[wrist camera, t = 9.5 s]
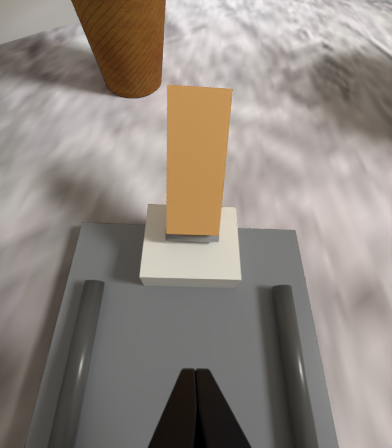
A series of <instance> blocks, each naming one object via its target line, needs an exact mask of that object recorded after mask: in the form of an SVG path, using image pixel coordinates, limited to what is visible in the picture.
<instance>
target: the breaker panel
mask: <svg viewBox="0 0 392 448" xmlns="http://www.w3.org/2000/svg"><path fill="white" fill-rule="evenodd" d="M166 211H167V205H157V204H148V210H147V218H146V225H141V224H114V223H86V222H82V226H81V230H80V233H79V237H78V241H77V245H76V249H75V253H74V257H73V260H72V264H71V268H70V272H69V276H68V280H67V284H66V288H65V291H64V295H63V299H62V303H61V307H60V311H59V315H58V318H57V322H56V326H55V330H54V334H53V338H52V342H51V345H50V349H49V353H48V357H47V361H46V365H45V369H44V372H43V376H42V380H41V384H40V388H39V392H38V396H37V399H36V403H35V407H34V411H33V415H32V419H31V423H30V426H29V430H28V434H27V438H26V442H25V446H24V448H147V447H148V445H149V443H150V440H151V438H152V436H153V433H154V431H155V429H156V426H157V424H158V422H159V420H160V417H161V415H162V413H163V410H164V408H165V406H166V403H167V401H168V399H169V397H170V394H171V392H172V390H173V387H174V385H175V383H176V380H177V378H178V376H179V373H180V371H181V370H182V369H183V368H194V369H195V371H196V369H197V368H208V369H209V370H210V371H211V373H212V375H213V377H214V378H215V380H216V382H217V384H218V386H219V388H220V390H221V391H222V393H223V395H224V397H225V399H226V401H227V402H228V404H229V406H230V408H231V410H232V412H233V414H234V415H235V417H236V419H237V421H238V423H239V425H240V427H241V428H242V430H243V432H244V434H245V436H246V438H247V439H248V441H249V443H250V445H251V447H252V448H339V446H338V441H337V436H336V431H335V426H334V421H333V416H332V411H331V406H330V401H329V396H328V391H327V386H326V381H325V376H324V371H323V366H322V361H321V356H320V351H319V346H318V341H317V336H316V331H315V326H314V321H313V316H312V311H311V306H310V301H309V296H308V291H307V286H306V281H305V276H304V271H303V266H302V261H301V256H300V251H299V246H298V241H297V236H296V231H295V230H278V229H251V228H237V215H236V208H232V207H222V209H221V220H220V230H219V242H195V241H166V240H165V231H166Z"/></svg>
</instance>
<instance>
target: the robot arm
mask: <svg viewBox="0 0 392 448" xmlns="http://www.w3.org/2000/svg"><path fill="white" fill-rule="evenodd" d="M147 448H252V447H251V445H250V443H249V441H248V439H247V438H246V436H245V434H244V432H243V430H242V428H241V427H240V425H239V423H238V421H237V419H236V417H235V415H234V414H233V412H232V410H231V408H230V406H229V404H228V402H227V401H226V399H225V397H224V395H223V393H222V391H221V390H220V388H219V386H218V384H217V382H216V380H215V378H214V377H213V375H212V373H211V371H210V370H209V369H208V368H197V369H196V371H195V369H194V368H183V369H182V370H181V371H180V373H179V376H178V378H177V380H176V383H175V385H174V387H173V390H172V392H171V394H170V397H169V399H168V401H167V403H166V406H165V408H164V410H163V413H162V415H161V417H160V420H159V422H158V424H157V426H156V429H155V431H154V433H153V436H152V438H151V440H150V443H149V445H148V447H147Z"/></svg>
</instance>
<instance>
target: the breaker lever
mask: <svg viewBox="0 0 392 448" xmlns="http://www.w3.org/2000/svg"><path fill="white" fill-rule="evenodd" d="M232 90H233V89H225V88H210V87H194V86H178V85H167V211H166V231H165V240H166V241H195V242H219V230H220V220H221V209H222V198H223V187H224V177H225V166H226V155H227V144H228V133H229V123H230V112H231V101H232Z"/></svg>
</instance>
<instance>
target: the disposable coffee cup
mask: <svg viewBox="0 0 392 448" xmlns="http://www.w3.org/2000/svg"><path fill="white" fill-rule="evenodd" d="M71 1H72V3H73V6H74V8H75V11H76V13H77V16H78V18H79V20H80V23H81V25H82V27H83V30H84V32H85V35H86V37H87V39H88V42H89V44H90V47H91V49H92V52H93V54H94V57H95V59H96V61H97V64H98V66H99V69H100V71H101V73H102V76H103V78H104V81H105V83H106V86H107V87H108V89H109V90H110V91H111V92H113V93H115V94H116V95H119V96H122V97H128V98H138V97H144V96H147V95H149V94H151V93H153V92H155V91H156V90H157V89H158V88H159V87H160V85H161V77H162V60H163V41H164V21H165V5H166V0H71Z"/></svg>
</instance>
